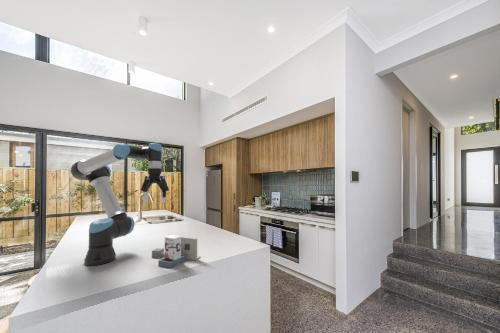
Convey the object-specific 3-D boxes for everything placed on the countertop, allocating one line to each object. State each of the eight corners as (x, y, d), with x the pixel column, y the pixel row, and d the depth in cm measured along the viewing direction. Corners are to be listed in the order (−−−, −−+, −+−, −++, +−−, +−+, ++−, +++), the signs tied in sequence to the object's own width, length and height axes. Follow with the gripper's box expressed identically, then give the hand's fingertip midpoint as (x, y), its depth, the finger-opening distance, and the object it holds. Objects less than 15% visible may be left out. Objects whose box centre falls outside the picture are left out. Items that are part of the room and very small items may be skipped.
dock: (158, 265, 119) (158, 260, 119) (174, 258, 131) (174, 253, 131) (170, 268, 116) (170, 262, 116) (186, 259, 127) (186, 254, 128)
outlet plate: (167, 256, 133) (167, 236, 134) (173, 253, 138) (173, 234, 139) (195, 260, 126) (195, 239, 127) (200, 257, 131) (200, 237, 132)
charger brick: (151, 257, 132) (152, 250, 132) (156, 254, 137) (156, 248, 137) (160, 257, 131) (160, 251, 132) (164, 255, 136) (164, 248, 137)
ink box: (163, 257, 123) (164, 236, 124) (171, 255, 127) (171, 234, 128) (174, 260, 119) (174, 238, 120) (181, 257, 123) (181, 236, 124)
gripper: (135, 168, 138) (134, 202, 136) (166, 167, 129) (165, 203, 127) (144, 168, 145) (144, 201, 143) (175, 167, 136) (174, 202, 134)
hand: (154, 202), depth 135 cm, fingers open, 13 cm apart
